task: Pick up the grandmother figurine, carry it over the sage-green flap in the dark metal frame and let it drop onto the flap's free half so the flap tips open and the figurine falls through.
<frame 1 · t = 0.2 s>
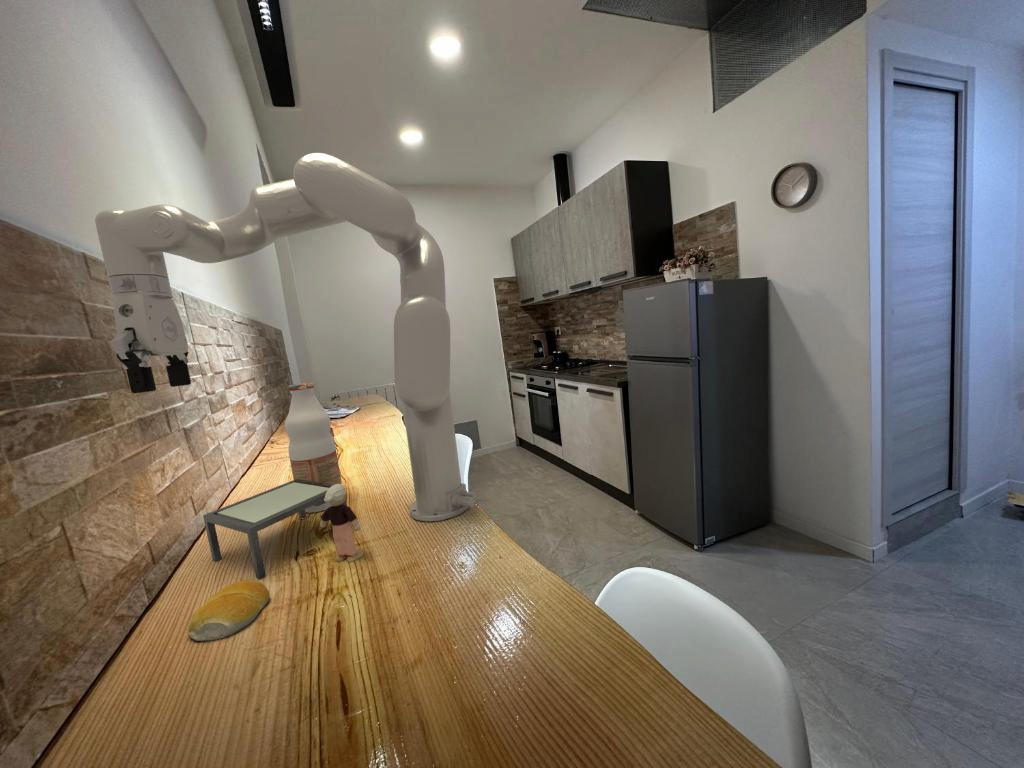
hand: (163, 388, 68), 31 cm above the table, tool pointing down, fingers open, 9 cm apart
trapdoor: (278, 507, 71), point 7 cm above the table, hinge at 0.0°
fruit juice: (322, 505, 89), on the table
trapdoor frame: (285, 543, 72), on the table
bread roll: (232, 620, 53), on the table
grandmother figurine: (346, 557, 65), on the table
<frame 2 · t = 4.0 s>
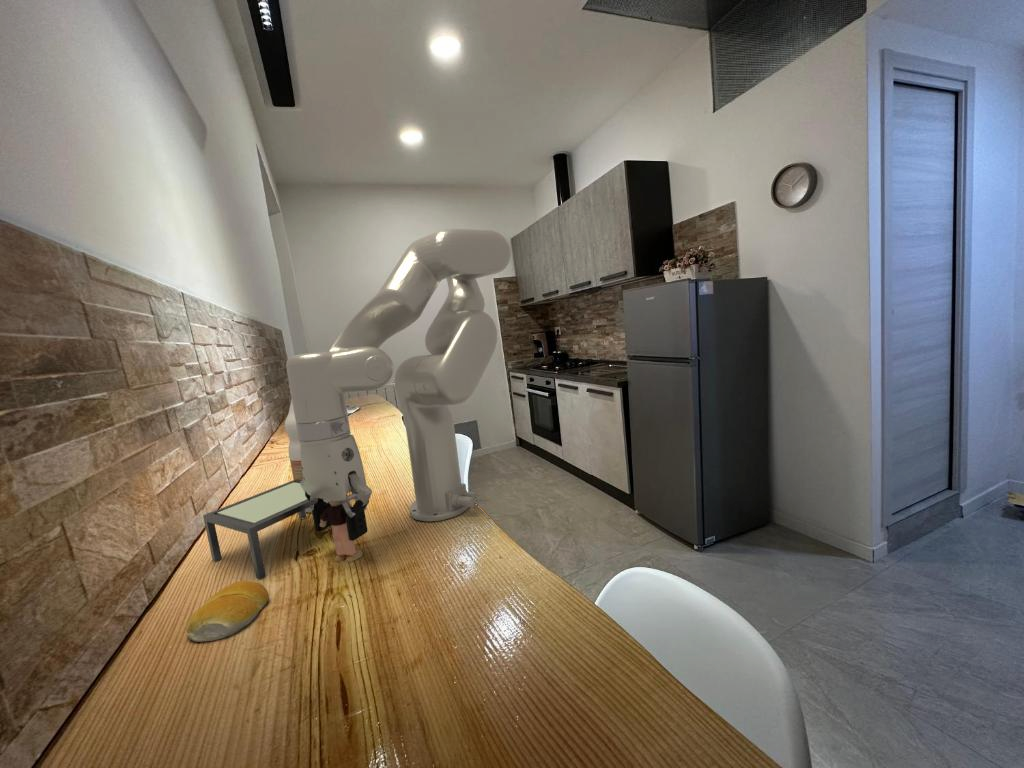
hand: (341, 531, 64), 5 cm above the table, tool pointing down, fingers closed on grandmother figurine, 7 cm apart
grandmother figurine: (346, 557, 65), on the table, touching gripper
everything else where it was.
when the fingers open (16 cm above the table, at t = 9.7 s): grandmother figurine drops 1 cm, point 10 cm above the table.
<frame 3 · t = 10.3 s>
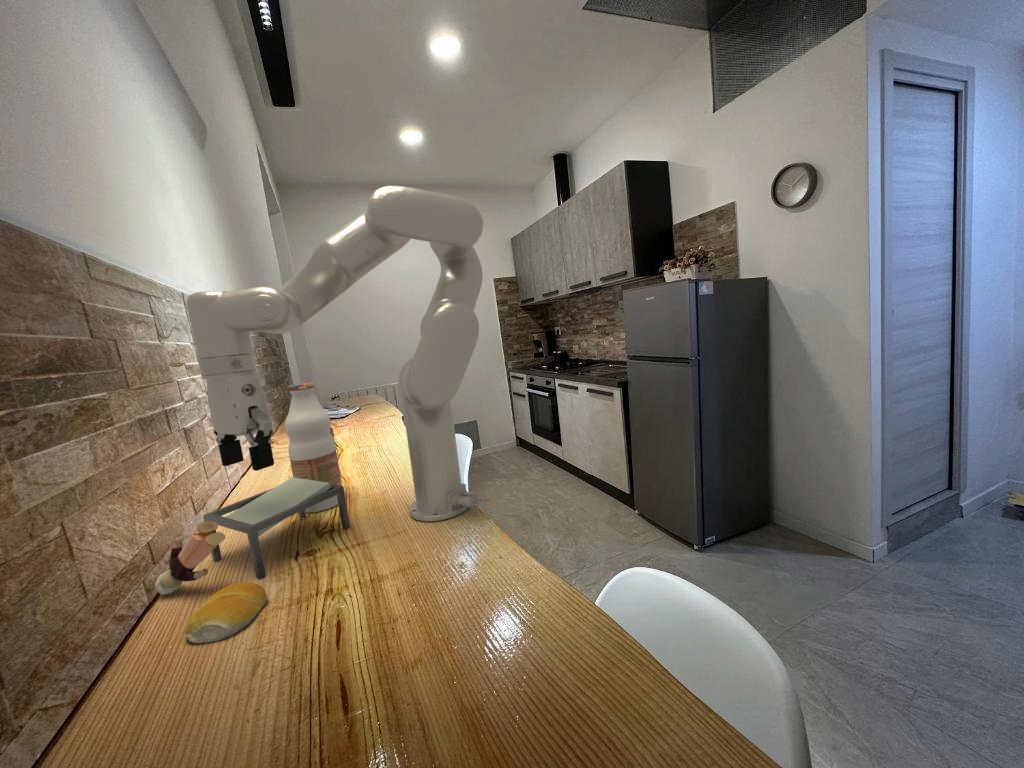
hand: (248, 465, 67), 16 cm above the table, tool pointing down, fingers open, 9 cm apart
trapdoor: (279, 507, 71), point 7 cm above the table, hinge at -11.1°
grandmother figurine: (210, 528, 58), point 10 cm above the table
everything else where it was.
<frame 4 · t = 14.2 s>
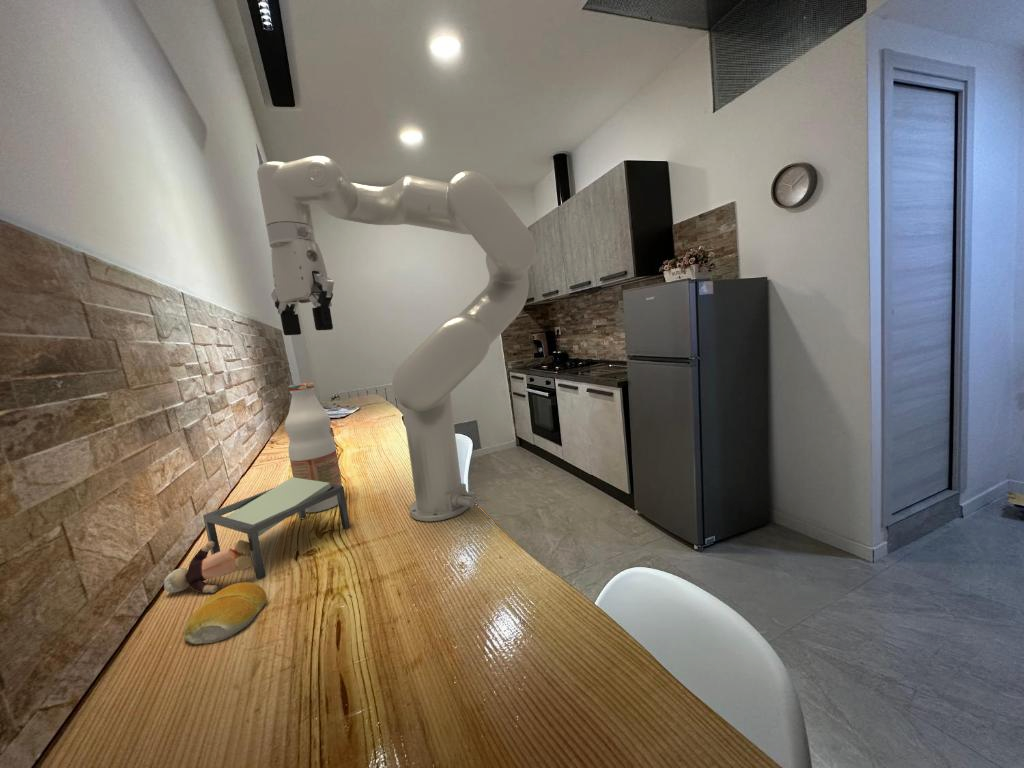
hand: (308, 332, 73), 38 cm above the table, tool pointing down, fingers open, 9 cm apart
grandmother figurine: (245, 550, 60), point 5 cm above the table, touching trapdoor frame
everything else where it was.
at the end: grandmother figurine point 5.3 cm above the table; grandmother figurine inside the target area (11.5 cm from its centre), point 5.3 cm above the table; the gripper is holding nothing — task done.
